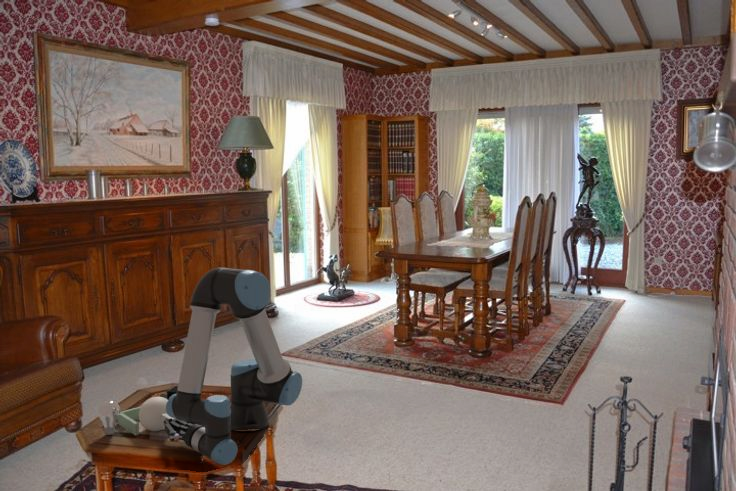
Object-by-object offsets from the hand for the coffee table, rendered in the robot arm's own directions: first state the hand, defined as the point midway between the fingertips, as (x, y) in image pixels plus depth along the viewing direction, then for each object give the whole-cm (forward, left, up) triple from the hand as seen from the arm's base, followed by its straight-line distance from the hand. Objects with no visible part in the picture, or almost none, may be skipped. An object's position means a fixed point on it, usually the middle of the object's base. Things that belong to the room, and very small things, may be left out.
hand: (163, 417), depth 211 cm
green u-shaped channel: (+12, -6, -6) cm, 14 cm away
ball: (+6, -3, 0) cm, 6 cm away
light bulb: (+16, +8, -6) cm, 19 cm away
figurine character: (+13, -24, -7) cm, 28 cm away
